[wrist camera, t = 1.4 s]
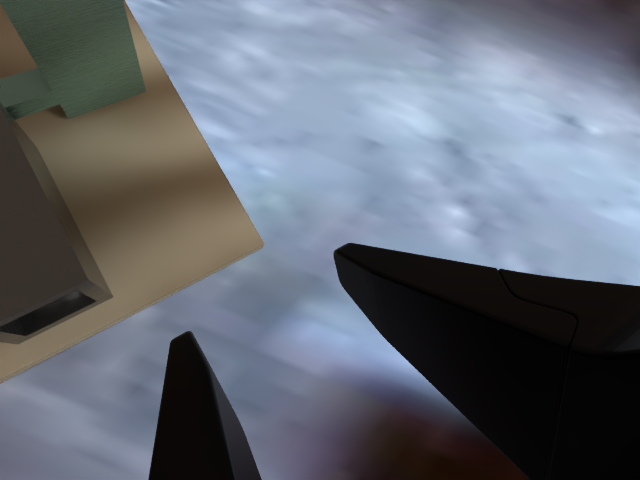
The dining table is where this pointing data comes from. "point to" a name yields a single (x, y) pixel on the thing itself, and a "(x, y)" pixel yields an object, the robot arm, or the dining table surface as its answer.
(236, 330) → the dining table surface
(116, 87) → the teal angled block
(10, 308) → the sleeve
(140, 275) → the birch board
